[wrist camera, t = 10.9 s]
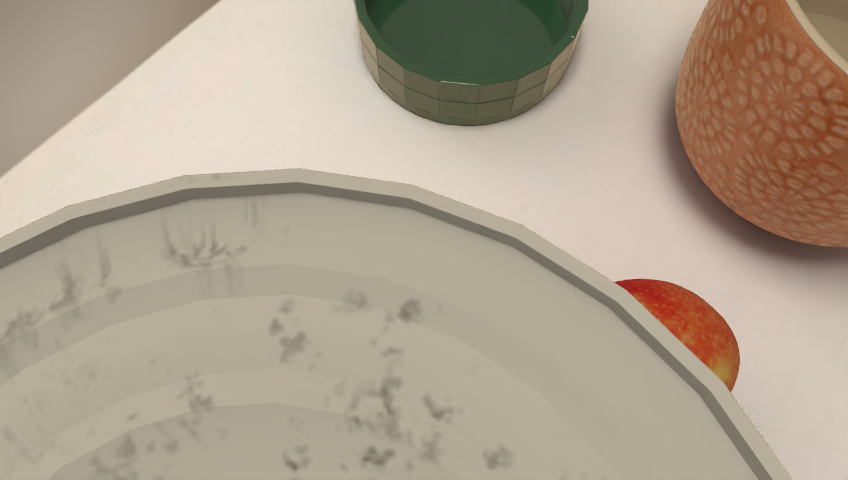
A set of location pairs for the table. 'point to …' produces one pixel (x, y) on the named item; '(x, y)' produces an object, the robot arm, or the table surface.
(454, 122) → the green bowl
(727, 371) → the apple
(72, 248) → the dirty tin can
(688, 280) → the table surface
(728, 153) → the planter
